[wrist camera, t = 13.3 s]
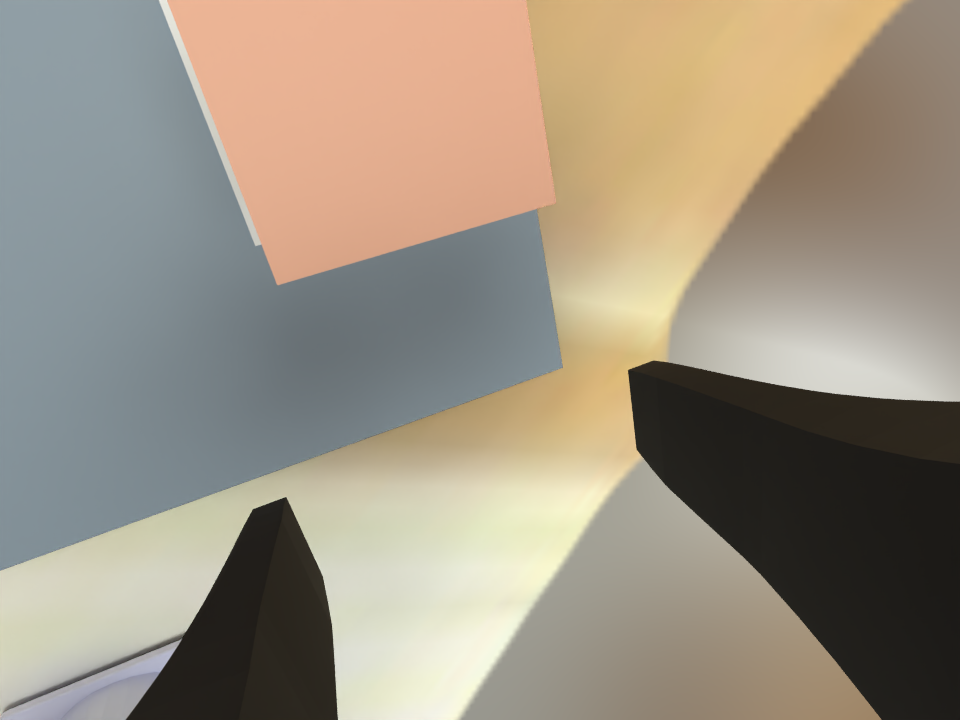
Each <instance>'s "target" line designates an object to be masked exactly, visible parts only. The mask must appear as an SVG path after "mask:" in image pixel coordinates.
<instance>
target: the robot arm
mask: <svg viewBox="0 0 960 720" xmlns="http://www.w3.org/2000/svg"><path fill="white" fill-rule="evenodd" d="M628 374H629V383H630V393H631V402H632V411H633V420H634V430H635V439H636V448H637V450H638V452H639V453H640V454H641V456H642V457H643V458H644V459H645V461H646V462H647V463H648V464H649V466H650V467H651V468H652V470H653V471H654V472H655V473H656V474H657V475H658V477H659V478H660V479H661V480H662V481H663V482H664V484H665V485H666V486H667V487H668V488H669V489H670V490H671V491H672V492H673V493H675V494H676V495H677V496H678V497H679V498H680V499H681V500H682V501H683V502H684V503H685V504H686V505H687V506H688V507H689V508H690V509H692V510H693V511H694V512H695V513H696V514H697V515H698V516H699V517H700V518H701V519H702V520H704V521H705V522H706V523H707V524H708V525H709V526H710V527H711V528H712V529H713V530H714V531H715V532H717V533H718V534H719V535H720V536H721V537H722V538H723V539H724V540H725V541H726V542H727V543H729V544H730V545H731V546H732V547H733V548H734V549H735V550H736V551H737V552H738V553H740V555H742V556H743V557H744V558H745V559H746V560H747V561H748V562H749V563H750V564H751V565H752V566H753V567H754V568H755V569H756V570H757V571H758V572H759V573H760V574H761V575H762V576H763V577H764V578H765V580H766V581H767V582H768V583H769V584H770V585H771V586H772V588H773V589H774V590H775V591H776V592H777V593H778V594H779V595H780V596H781V598H782V599H783V600H784V601H785V602H786V603H787V604H788V606H789V607H790V608H791V609H792V610H793V611H794V612H795V613H796V614H797V616H798V617H799V618H800V619H801V620H802V622H803V623H804V624H805V625H806V626H807V628H808V629H809V630H810V631H811V632H812V634H813V635H814V636H815V637H816V638H817V639H818V641H819V642H820V643H821V644H822V645H823V647H824V648H825V649H826V650H827V651H828V653H829V654H830V655H831V656H832V657H833V659H834V660H835V661H836V662H837V663H838V665H839V666H840V667H841V669H842V670H843V671H844V672H845V674H846V675H847V676H848V677H849V679H850V680H851V681H852V683H853V684H854V685H855V686H856V687H857V689H858V690H859V691H860V693H861V694H862V695H863V696H864V697H865V699H866V700H867V701H868V703H869V704H870V705H871V706H872V708H873V709H874V710H875V712H876V713H877V714H878V715H879V717H880V718H881V719H882V720H960V402H943V401H916V400H895V399H880V398H870V397H860V396H851V395H840V394H832V393H824V392H817V391H810V390H804V389H798V388H792V387H786V386H780V385H775V384H770V383H764V382H759V381H754V380H749V379H744V378H740V377H734V376H730V375H725V374H721V373H716V372H711V371H707V370H703V369H698V368H693V367H688V366H684V365H679V364H673V363H667V362H660V361H651V362H648V363H646V364H643V365H640V366H638V367H635V368H632V369H630V370H628ZM0 720H338V717H337V699H336V681H335V664H334V648H333V633H332V623H331V617H330V612H329V606H328V601H327V596H326V591H325V585H324V580H323V576H322V574H321V572H320V569H319V567H318V565H317V563H316V561H315V559H314V556H313V554H312V552H311V550H310V548H309V546H308V543H307V541H306V539H305V537H304V535H303V533H302V530H301V528H300V526H299V524H298V522H297V520H296V517H295V515H294V513H293V511H292V509H291V506H290V504H289V502H288V500H287V498H286V497H285V498H282V499H280V500H277V501H274V502H271V503H269V504H266V505H263V506H261V507H258V508H255V509H253V510H252V512H251V514H250V516H249V518H248V520H247V521H246V523H245V525H244V527H243V529H242V531H241V533H240V535H239V537H238V539H237V541H236V543H235V545H234V547H233V549H232V551H231V553H230V555H229V557H228V559H227V561H226V563H225V565H224V566H223V568H222V570H221V572H220V574H219V576H218V578H217V579H216V581H215V583H214V585H213V587H212V589H211V591H210V592H209V594H208V596H207V598H206V600H205V602H204V603H203V605H202V607H201V608H200V610H199V612H198V613H197V615H196V617H195V618H194V620H193V622H192V623H191V625H190V627H189V628H188V630H187V632H186V633H185V635H184V637H183V638H182V639H181V640H178V641H176V642H174V643H171V644H169V645H166V646H164V647H161V648H159V649H156V650H154V651H151V652H149V653H147V654H144V655H142V656H139V657H137V658H134V659H132V660H129V661H127V662H124V663H122V664H120V665H117V666H115V667H112V668H110V669H107V670H105V671H102V672H100V673H97V674H95V675H92V676H90V677H88V678H85V679H83V680H80V681H78V682H75V683H73V684H70V685H68V686H65V687H63V688H61V689H58V690H56V691H53V692H51V693H48V694H46V695H43V696H41V697H38V698H36V699H34V700H31V701H29V702H26V703H24V704H21V705H19V706H16V707H14V708H11V709H9V710H7V711H5V712H4V713H2V715H1V716H0Z"/></svg>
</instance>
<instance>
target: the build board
mask: <svg viewBox="0 0 960 720" xmlns="http://www.w3.org/2000/svg"><path fill="white" fill-rule="evenodd" d="M560 368H563V366H562V359H561V353H560V347H559V341H558V335H557V329H556V323H555V317H554V311H553V305H552V299H551V293H550V287H549V281H548V275H547V269H546V263H545V256H544V250H543V244H542V238H541V232H540V226H539V220H538V214H537V209H535V210H532V211H528V212H525V213H521V214H518V215H515V216H511V217H508V218H504V219H501V220H498V221H494V222H491V223H487V224H484V225H481V226H477V227H474V228H470V229H467V230H464V231H460V232H457V233H453V234H450V235H447V236H443V237H440V238H436V239H433V240H430V241H426V242H423V243H419V244H416V245H413V246H409V247H406V248H402V249H399V250H396V251H392V252H389V253H385V254H382V255H379V256H375V257H372V258H368V259H365V260H362V261H358V262H355V263H351V264H348V265H345V266H341V267H338V268H334V269H331V270H328V271H324V272H321V273H317V274H314V275H311V276H307V277H304V278H300V279H297V280H294V281H290V282H287V283H283V284H280V285H277V283H276V281H275V278H274V275H273V273H272V270H271V268H270V265H269V263H268V260H267V257H266V255H265V252H264V250H263V247H262V244H261V242H260V239H259V237H258V234H257V232H256V229H255V226H254V224H253V221H252V219H251V216H250V213H249V211H248V208H247V206H246V203H245V201H244V198H243V195H242V193H241V190H240V188H239V185H238V182H237V180H236V177H235V175H234V172H233V170H232V167H231V164H230V162H229V159H228V157H227V154H226V151H225V149H224V146H223V144H222V141H221V139H220V136H219V133H218V131H217V128H216V126H215V123H214V121H213V118H212V115H211V113H210V110H209V108H208V105H207V102H206V100H205V97H204V95H203V92H202V90H201V87H200V84H199V82H198V79H197V77H196V74H195V71H194V69H193V66H192V64H191V61H190V59H189V56H188V53H187V51H186V48H185V46H184V43H183V40H182V38H181V35H180V33H179V30H178V28H177V25H176V22H175V20H174V17H173V15H172V12H171V9H170V7H169V4H168V2H167V0H0V570H3V569H6V568H9V567H11V566H14V565H17V564H20V563H23V562H25V561H28V560H31V559H34V558H36V557H39V556H42V555H45V554H47V553H50V552H53V551H56V550H59V549H61V548H64V547H67V546H70V545H72V544H75V543H78V542H81V541H84V540H86V539H89V538H92V537H95V536H97V535H100V534H103V533H106V532H108V531H111V530H114V529H117V528H120V527H122V526H125V525H128V524H131V523H133V522H136V521H139V520H142V519H145V518H147V517H150V516H153V515H156V514H158V513H161V512H164V511H167V510H169V509H172V508H175V507H178V506H181V505H183V504H186V503H189V502H192V501H194V500H197V499H200V498H203V497H205V496H208V495H211V494H214V493H217V492H219V491H222V490H225V489H228V488H230V487H233V486H236V485H239V484H242V483H244V482H247V481H250V480H253V479H255V478H258V477H261V476H264V475H266V474H269V473H272V472H275V471H278V470H280V469H283V468H286V467H289V466H291V465H294V464H297V463H300V462H303V461H305V460H308V459H311V458H314V457H316V456H319V455H322V454H325V453H327V452H330V451H333V450H336V449H339V448H341V447H344V446H347V445H350V444H352V443H355V442H358V441H361V440H363V439H366V438H369V437H372V436H375V435H377V434H380V433H383V432H386V431H388V430H391V429H394V428H397V427H400V426H402V425H405V424H408V423H411V422H413V421H416V420H419V419H422V418H424V417H427V416H430V415H433V414H436V413H438V412H441V411H444V410H447V409H449V408H452V407H455V406H458V405H461V404H463V403H466V402H469V401H472V400H474V399H477V398H480V397H483V396H485V395H488V394H491V393H494V392H497V391H499V390H502V389H505V388H508V387H510V386H513V385H516V384H519V383H521V382H524V381H527V380H530V379H533V378H535V377H538V376H541V375H544V374H546V373H549V372H552V371H555V370H558V369H560Z"/></svg>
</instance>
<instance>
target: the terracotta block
mask: <svg viewBox="0 0 960 720" xmlns="http://www.w3.org/2000/svg"><path fill="white" fill-rule="evenodd" d="M167 2H168V4H169V7H170V9H171V12H172V15H173V17H174V20H175V22H176V25H177V28H178V30H179V33H180V35H181V38H182V40H183V43H184V46H185V48H186V51H187V53H188V56H189V59H190V61H191V64H192V66H193V69H194V71H195V74H196V77H197V79H198V82H199V84H200V87H201V90H202V92H203V95H204V97H205V100H206V102H207V105H208V108H209V110H210V113H211V115H212V118H213V121H214V123H215V126H216V128H217V131H218V133H219V136H220V139H221V141H222V144H223V146H224V149H225V151H226V154H227V157H228V159H229V162H230V164H231V167H232V170H233V172H234V175H235V177H236V180H237V182H238V185H239V188H240V190H241V193H242V195H243V198H244V201H245V203H246V206H247V208H248V211H249V213H250V216H251V219H252V221H253V224H254V226H255V229H256V232H257V234H258V237H259V239H260V242H261V244H262V247H263V250H264V252H265V255H266V257H267V260H268V263H269V265H270V268H271V270H272V273H273V275H274V278H275V281H276V283H277V285H280V284H283V283H287V282H290V281H294V280H297V279H300V278H304V277H307V276H311V275H314V274H317V273H321V272H324V271H328V270H331V269H334V268H338V267H341V266H345V265H348V264H351V263H355V262H358V261H362V260H365V259H368V258H372V257H375V256H379V255H382V254H385V253H389V252H392V251H396V250H399V249H402V248H406V247H409V246H413V245H416V244H419V243H423V242H426V241H430V240H433V239H436V238H440V237H443V236H447V235H450V234H453V233H457V232H460V231H464V230H467V229H470V228H474V227H477V226H481V225H484V224H487V223H491V222H494V221H498V220H501V219H504V218H508V217H511V216H515V215H518V214H521V213H525V212H528V211H532V210H535V209H538V208H542V207H545V206H549V205H552V204H555V203H556V198H555V192H554V185H553V178H552V172H551V165H550V158H549V151H548V145H547V138H546V131H545V125H544V118H543V111H542V104H541V98H540V91H539V84H538V78H537V71H536V64H535V58H534V51H533V44H532V37H531V31H530V24H529V17H528V11H527V4H526V0H167Z"/></svg>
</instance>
